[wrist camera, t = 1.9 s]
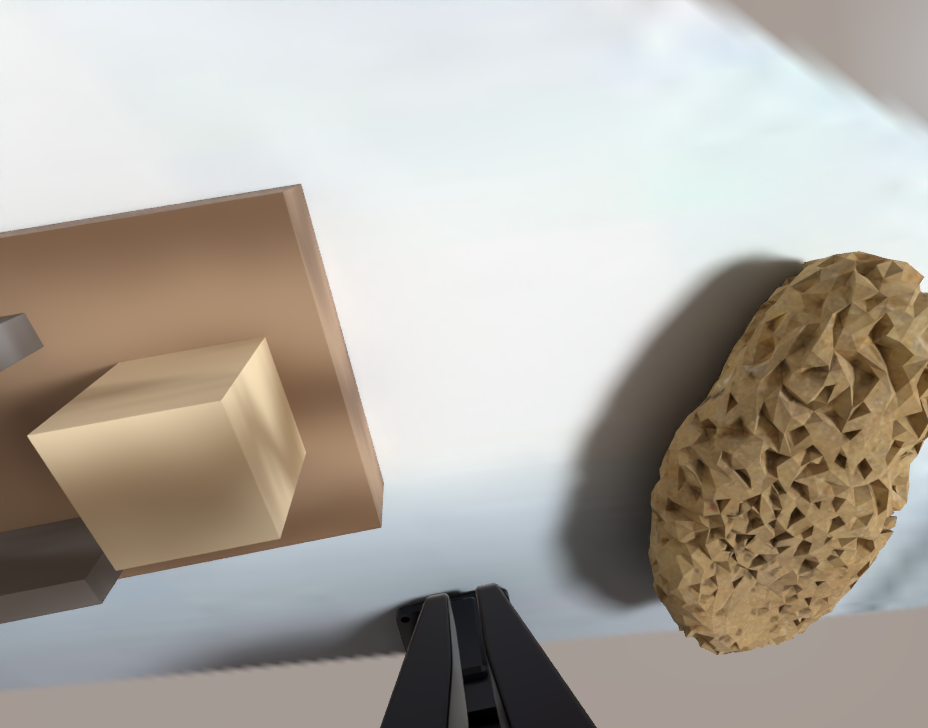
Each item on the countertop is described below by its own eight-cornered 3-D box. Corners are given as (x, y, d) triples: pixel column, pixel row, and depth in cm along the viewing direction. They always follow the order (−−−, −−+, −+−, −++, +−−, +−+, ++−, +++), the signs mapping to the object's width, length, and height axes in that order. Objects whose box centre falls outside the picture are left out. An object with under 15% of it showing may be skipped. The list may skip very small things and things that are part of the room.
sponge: (734, 226, 22) (549, 596, 24) (955, 237, 15) (661, 751, 18) (868, 322, 28) (706, 611, 30) (1070, 363, 21) (836, 731, 24)
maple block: (306, 452, 19) (280, 538, 15) (177, 476, 19) (115, 570, 15) (265, 336, 17) (221, 400, 13) (118, 362, 16) (26, 435, 12)
